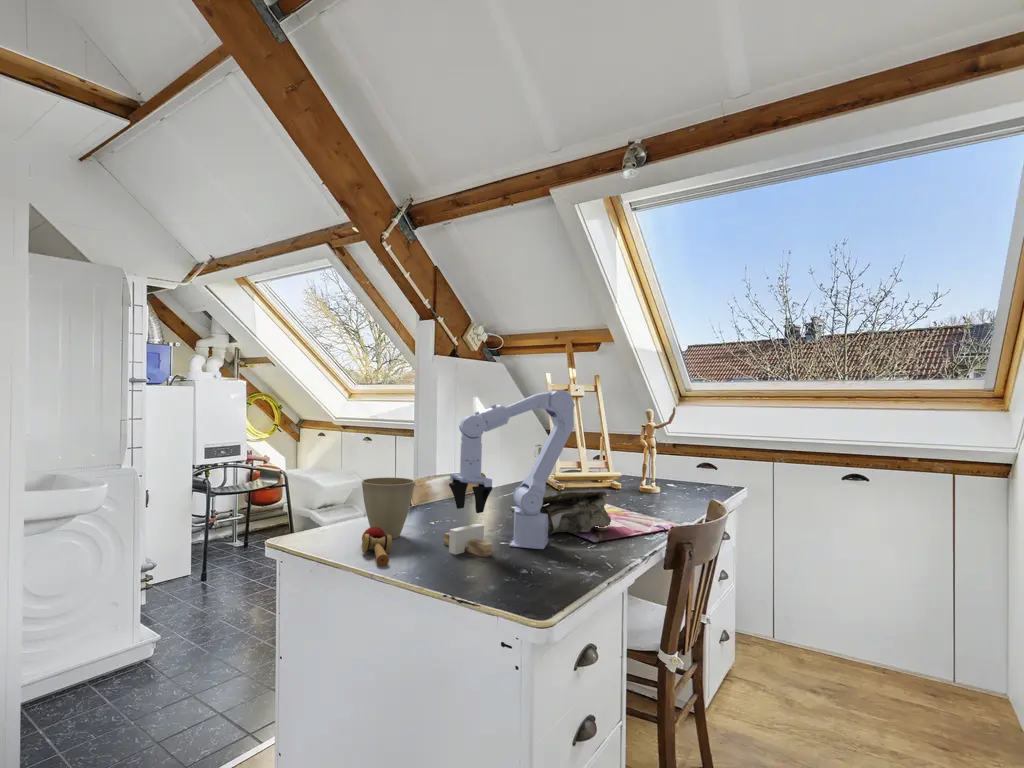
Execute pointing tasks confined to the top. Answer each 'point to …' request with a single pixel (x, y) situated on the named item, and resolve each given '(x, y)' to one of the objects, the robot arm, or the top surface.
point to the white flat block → (464, 537)
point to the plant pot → (388, 503)
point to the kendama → (377, 544)
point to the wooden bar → (474, 546)
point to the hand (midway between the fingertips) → (469, 510)
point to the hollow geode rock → (575, 512)
